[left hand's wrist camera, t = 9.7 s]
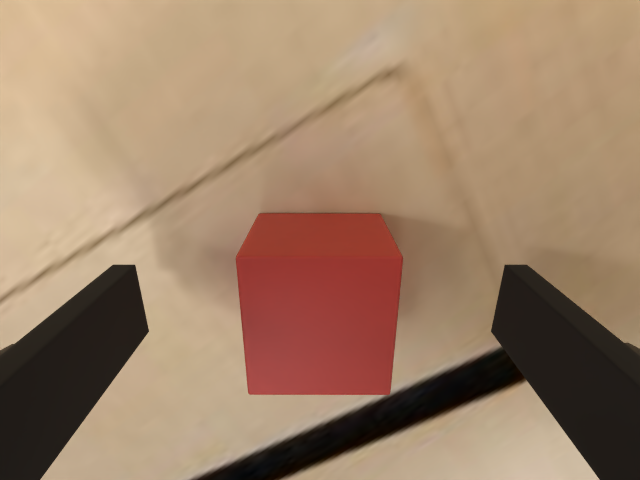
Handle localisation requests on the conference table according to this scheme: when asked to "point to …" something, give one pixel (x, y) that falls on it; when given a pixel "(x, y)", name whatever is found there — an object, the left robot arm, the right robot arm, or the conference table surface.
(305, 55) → the conference table surface
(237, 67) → the conference table surface
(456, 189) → the conference table surface
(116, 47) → the conference table surface
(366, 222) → the block
